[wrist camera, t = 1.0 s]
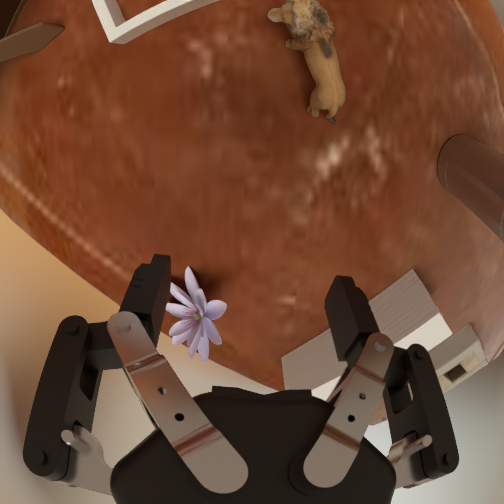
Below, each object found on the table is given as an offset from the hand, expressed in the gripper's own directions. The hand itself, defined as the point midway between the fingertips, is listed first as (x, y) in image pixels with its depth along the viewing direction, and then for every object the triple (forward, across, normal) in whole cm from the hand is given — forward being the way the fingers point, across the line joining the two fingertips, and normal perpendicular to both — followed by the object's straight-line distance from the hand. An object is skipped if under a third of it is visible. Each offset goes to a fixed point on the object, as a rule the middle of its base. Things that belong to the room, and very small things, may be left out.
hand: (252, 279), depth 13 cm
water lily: (+22, +5, +23) cm, 32 cm away
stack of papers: (+23, -27, +31) cm, 47 cm away
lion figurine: (+22, -4, -11) cm, 25 cm away
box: (+24, -72, +48) cm, 90 cm away
